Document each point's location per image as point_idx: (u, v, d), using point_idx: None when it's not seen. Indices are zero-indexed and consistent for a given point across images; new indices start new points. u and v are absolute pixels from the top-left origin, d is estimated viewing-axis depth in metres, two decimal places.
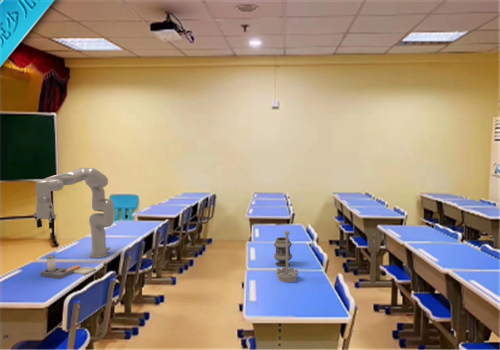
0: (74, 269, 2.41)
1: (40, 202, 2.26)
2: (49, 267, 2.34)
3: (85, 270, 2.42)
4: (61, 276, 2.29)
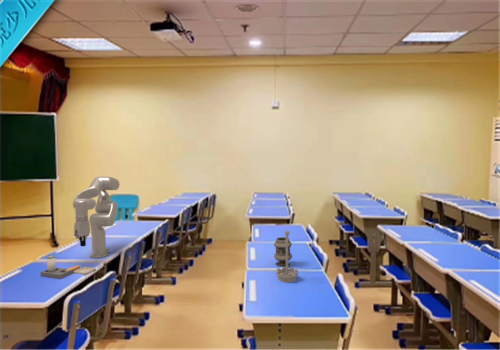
0: (74, 269, 2.41)
1: (87, 219, 2.48)
2: (49, 267, 2.34)
3: (85, 270, 2.42)
4: (61, 276, 2.29)
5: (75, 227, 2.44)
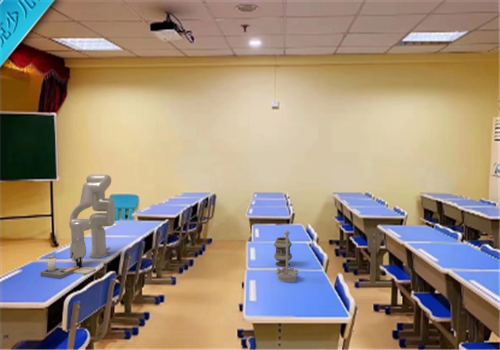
0: (73, 270, 2.40)
1: (83, 241, 2.45)
2: (49, 267, 2.34)
3: (85, 270, 2.42)
4: (61, 276, 2.29)
5: (71, 249, 2.41)
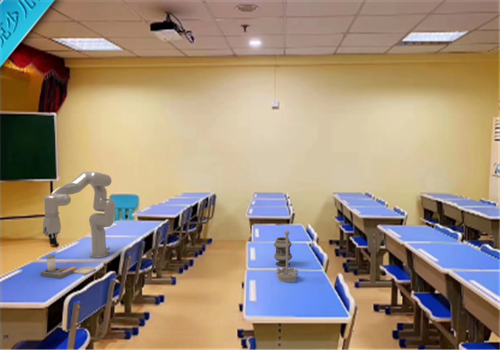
0: None
1: (57, 216, 2.34)
2: (49, 267, 2.34)
3: (85, 270, 2.42)
4: (61, 276, 2.29)
5: (44, 224, 2.31)
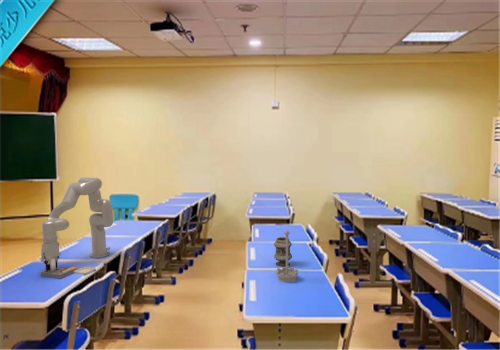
0: None
1: (55, 241, 2.35)
2: None
3: (85, 270, 2.42)
4: (61, 276, 2.29)
5: (42, 250, 2.31)
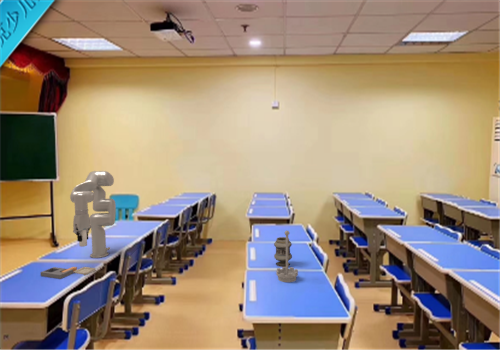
0: None
1: (87, 213, 2.38)
2: None
3: (85, 270, 2.42)
4: (61, 276, 2.29)
5: (74, 221, 2.34)
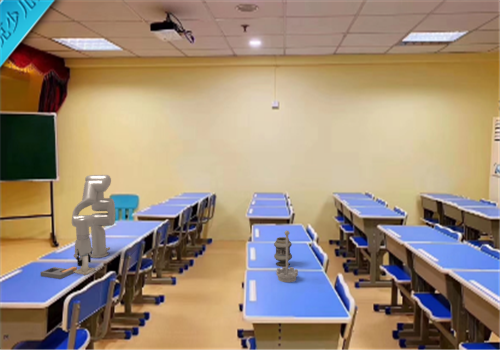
0: None
1: (88, 238, 2.39)
2: (82, 264, 2.39)
3: None
4: (61, 276, 2.29)
5: (76, 246, 2.35)
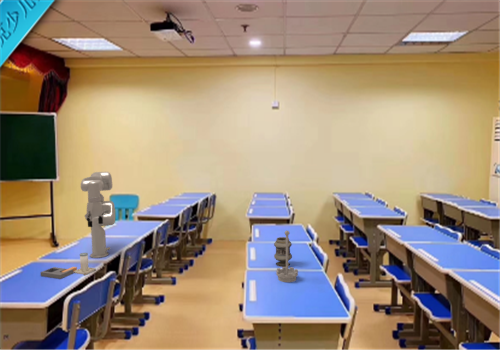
0: None
1: (99, 200, 2.48)
2: (82, 264, 2.39)
3: None
4: (61, 276, 2.29)
5: (88, 208, 2.44)
